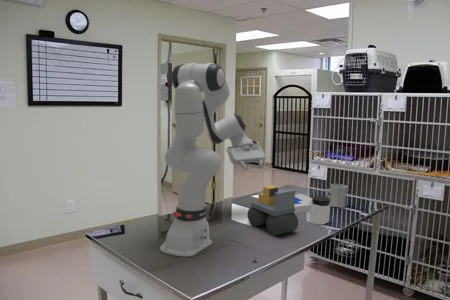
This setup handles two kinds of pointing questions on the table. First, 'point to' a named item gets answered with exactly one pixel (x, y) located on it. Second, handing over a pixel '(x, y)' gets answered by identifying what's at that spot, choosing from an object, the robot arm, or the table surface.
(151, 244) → the table surface
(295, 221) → the trolley
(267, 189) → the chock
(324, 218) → the jar
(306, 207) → the stepped white slab
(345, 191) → the cup
